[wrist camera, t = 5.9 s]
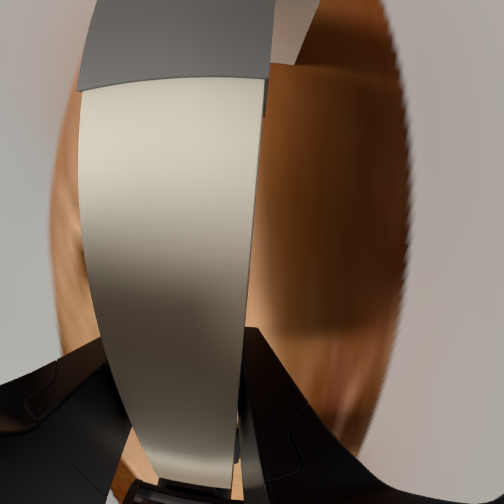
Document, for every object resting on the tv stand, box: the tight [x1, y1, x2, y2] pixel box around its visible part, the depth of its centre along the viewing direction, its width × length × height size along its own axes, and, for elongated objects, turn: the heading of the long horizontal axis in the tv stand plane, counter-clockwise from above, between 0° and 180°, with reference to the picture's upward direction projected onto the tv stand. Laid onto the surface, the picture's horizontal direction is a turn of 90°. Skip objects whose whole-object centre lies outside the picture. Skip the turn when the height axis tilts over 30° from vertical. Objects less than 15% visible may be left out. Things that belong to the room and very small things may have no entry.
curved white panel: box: [77, 0, 275, 489], centre depth 6 cm, size 14×3×4 cm, turn 175°
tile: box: [270, 0, 320, 65], centre depth 6 cm, size 2×5×8 cm, turn 86°
